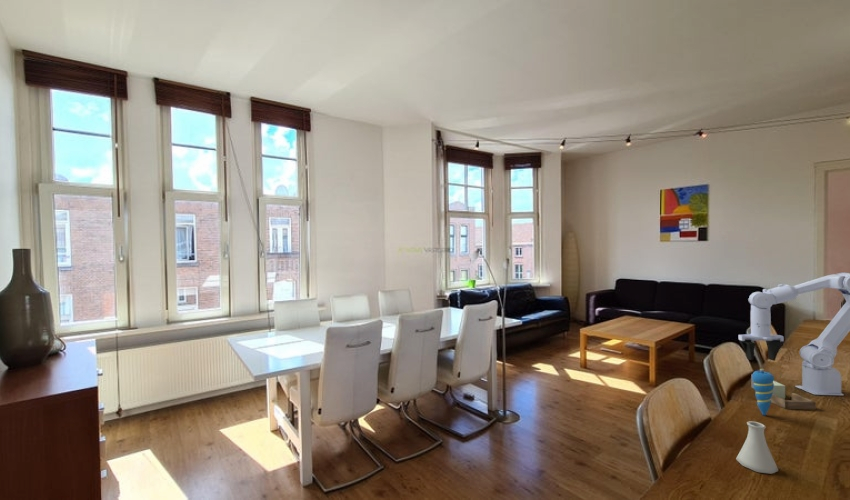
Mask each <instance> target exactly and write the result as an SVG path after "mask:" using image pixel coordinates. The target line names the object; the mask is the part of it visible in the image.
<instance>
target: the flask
mask: <svg viewBox="0 0 850 500" xmlns="http://www.w3.org/2000/svg"><path fill="white" fill-rule="evenodd" d="M746 424H747V427H748V431H747V437H746V438H745V441H744V443H743V445H742V447H741V449H740V450H739V453H738V455H736V458H735V460H736V461H737V462H738V463H740V465H741V466H743V467H745V468H747V469H749V470H752V471H754V472H756V473H761V474H762V473H763V474H771V475H772V474H775V473H777V472H779V468H778V466H777V464H776V462H775V460H774V457H773V455H772V453H771V451H770V448H769V446H768V443H767V441H766V440H767V439H766V436H765V429H766V428H767V426H766V425H764V424H763V423H761V422H757V421H746Z"/></svg>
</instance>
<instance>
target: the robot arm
mask: <svg viewBox="0 0 850 500" xmlns="http://www.w3.org/2000/svg"><path fill="white" fill-rule="evenodd" d="M827 288H828V289H835V290H838V291H839V292H840V294H842V296H843V298H844V300H845V303H844V304H843V305H842V306H841V308H839V310H838V312H837V313H836V314H835V316H833V318H832V319H831V320H830V322H829V323H828V324H827V326H826V327H825V328H824V329H823V331H822V332H821V333H820V334H819V336H818V337H817V338H815V339H813V340H811V341H810V342H809V343H808V344H806V345H804V346H802V347H801V348H800V350H799V356H800V357H801V359H802V362H801V382H802V383H801V385H795V388H798V389H800V390H802V391H805V392H807V393H810V394H812V395H814V396H845V394H844V393H842V375H841V372H840V371H839V370H838V369H837V368H835V367H833V365H834V363H835V357H836V355H837V354H838V349H837V348H838V347H839V345H840V344H841V343H842V341H843V340H844V339H845V338H846V337H847V336H848V334H849V333H850V272H844V271H843V272H839V273H838V272H837V273H836V274H835V273H832V274H828V275H824V276H821V277H818V278H815V279H812V280H808V281H806V282H805V281H804V282H803V283H797V284H796V285H791V284H790V285H789V284H786V283H785V284H783V283H780V284H777V286H776V287H771V288H769V289H766V288H763V289H762V292H761V291H755V292H752V293H751V294H750V295H749V298H748V297H747V298H748V299H747V300H748V303H749V304H750V333H747V334H746V333H745V334H738V340H739V343H740V345H741V346H742V348H743V350H744V352H745V356H746V359H747V360H749V361H754V356H755V355H754V354H755V353H754V352H755V347H756V344H757V343H755V342H756V341H758V342H760V341H761V342H763V341H764V342H765V343H766V347H767V357H768V360H770V361H776V358H777V355H778V354H779V351H780V350H781V348H782V347H783V346H784V342H785V341H784V339H785V338H784V336H783V335H780V334H772V321H771V319H772V317H771V314H772V313H771V307H772V306H773V305H777V304H781V303H785V302H789V301H792V300H796V299H797V297H798V296H799V295H802V294H806V293H810V292H815V291H819V290H822V289H827ZM753 341H755V342H753Z"/></svg>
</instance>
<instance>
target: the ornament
mask: <svg viewBox="0 0 850 500" xmlns="http://www.w3.org/2000/svg"><path fill="white" fill-rule="evenodd" d="M752 374H753V375H752V380H753V382H754V385H753V387H754V391H755V395H754V396H755V398H756V400H757V401H756V404H757V407H758V409H759V411H760V413H761V414H762V416H767V413H768V411H769V409H770V406H771V403H772V402H771V397H772V394H773V392H772V390H773V388H774V384H773V381H775V376H774V375H773V374H772V373H770V372H767V371H765V369H764V368H760V369H759V370H755V371H753V373H752Z"/></svg>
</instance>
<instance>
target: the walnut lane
mask: <svg viewBox="0 0 850 500" xmlns="http://www.w3.org/2000/svg"><path fill="white" fill-rule="evenodd" d="M790 395H791V400H790V399H787V400H786V399H782V398H780V397H778V396H775V395H773V394H772V397H771V403H772V404H775V405H776V406H778V407H780V408H782V409H784V410H816V409H817V408H816V401H813V400H811V399H809V398H806V397H804V396H802V395H799V394H797V393H796V392H795V393H794V392H791V394H790Z"/></svg>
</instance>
